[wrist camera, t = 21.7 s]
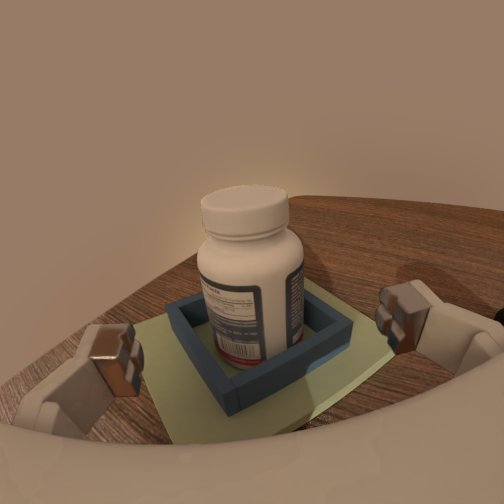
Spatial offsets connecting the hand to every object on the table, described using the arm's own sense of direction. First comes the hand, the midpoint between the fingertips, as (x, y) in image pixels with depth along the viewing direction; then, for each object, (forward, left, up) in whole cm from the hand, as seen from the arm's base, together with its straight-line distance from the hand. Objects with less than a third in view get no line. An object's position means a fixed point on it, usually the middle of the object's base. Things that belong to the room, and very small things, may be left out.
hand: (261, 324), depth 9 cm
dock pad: (+3, +5, -7) cm, 10 cm away
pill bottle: (+3, +5, -7) cm, 9 cm away
